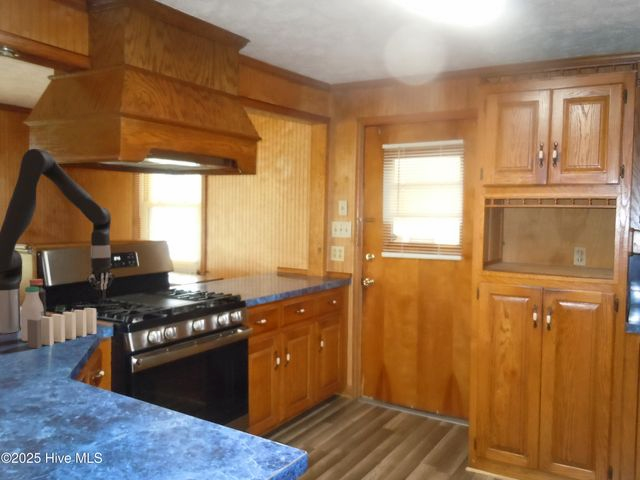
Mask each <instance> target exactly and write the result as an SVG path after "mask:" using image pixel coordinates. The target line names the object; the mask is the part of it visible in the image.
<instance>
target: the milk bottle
mask: <svg viewBox="0 0 640 480" xmlns="http://www.w3.org/2000/svg"><path fill="white" fill-rule="evenodd" d="M24 290H25V293H24V294H25V298H24V300H23V303H22V305H21V307H20V328H21V330H20V332H21V333H20V336H21V341H23V342H28V332H27V319H38V320H40V317H42V316H44V308H43V304H42V302H41V300H40V298H39V295H38V293H39V287H30V286H27V287H25V288H24Z"/></svg>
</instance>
